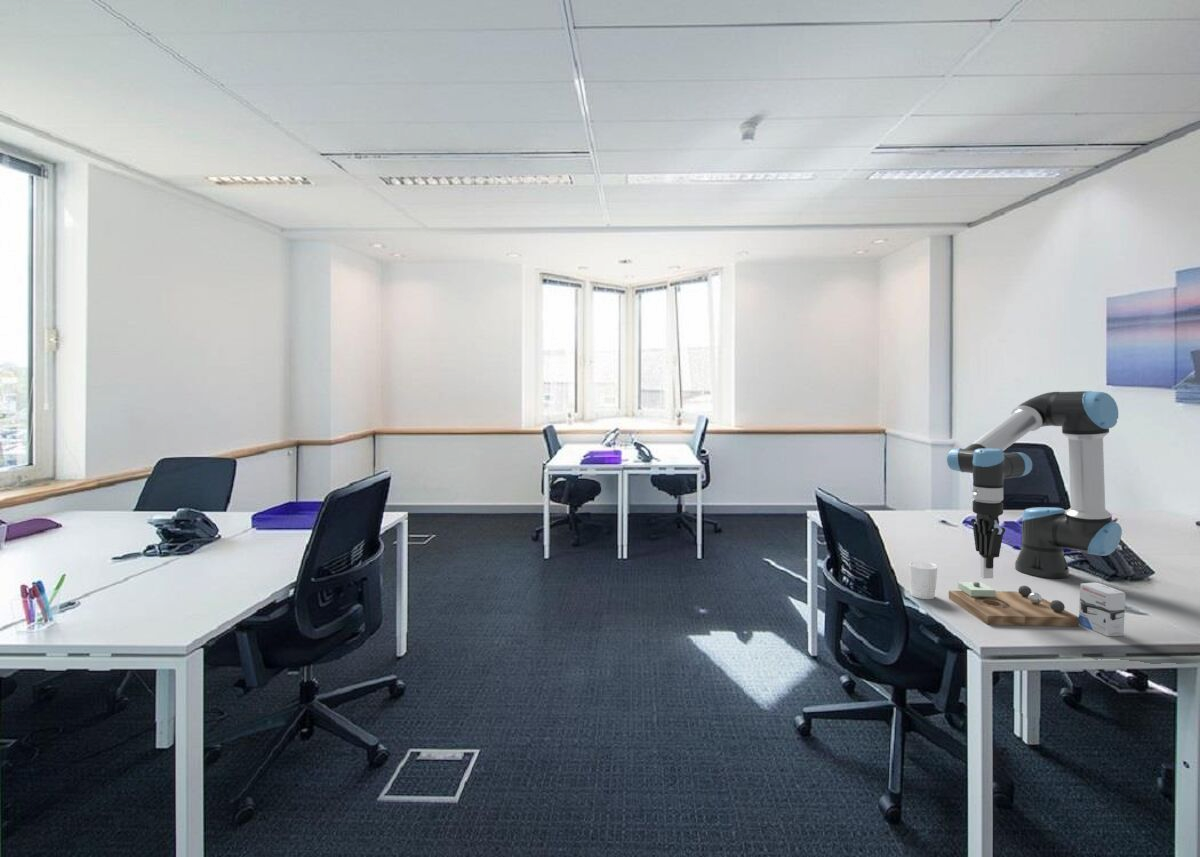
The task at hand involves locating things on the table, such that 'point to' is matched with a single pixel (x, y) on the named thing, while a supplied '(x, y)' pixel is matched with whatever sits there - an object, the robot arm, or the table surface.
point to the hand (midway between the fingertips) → (986, 577)
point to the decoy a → (1024, 590)
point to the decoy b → (1057, 606)
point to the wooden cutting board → (1012, 610)
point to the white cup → (922, 579)
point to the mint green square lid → (976, 589)
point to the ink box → (1102, 609)
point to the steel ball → (1035, 598)
